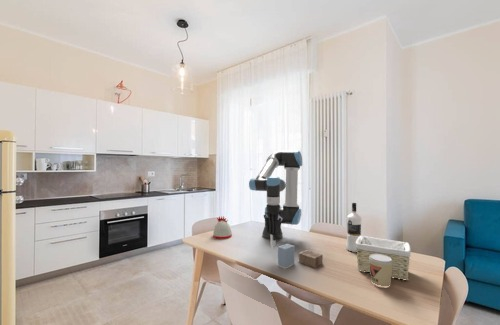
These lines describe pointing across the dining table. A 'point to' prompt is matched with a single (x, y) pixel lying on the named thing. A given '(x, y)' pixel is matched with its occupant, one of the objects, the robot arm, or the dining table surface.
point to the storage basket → (384, 247)
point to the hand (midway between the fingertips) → (272, 245)
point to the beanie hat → (222, 229)
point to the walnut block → (310, 258)
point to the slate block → (286, 255)
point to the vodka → (353, 229)
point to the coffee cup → (380, 269)
